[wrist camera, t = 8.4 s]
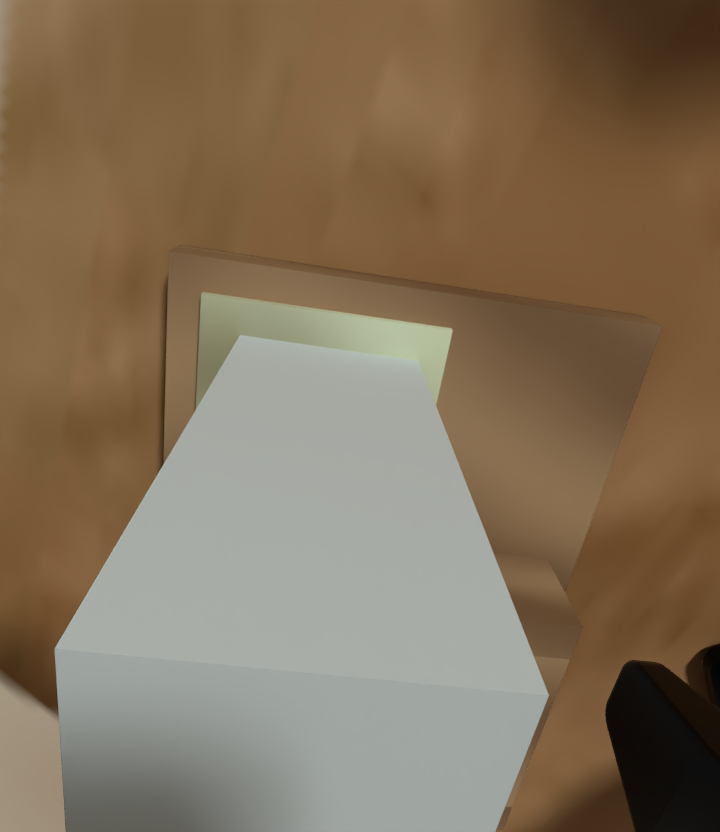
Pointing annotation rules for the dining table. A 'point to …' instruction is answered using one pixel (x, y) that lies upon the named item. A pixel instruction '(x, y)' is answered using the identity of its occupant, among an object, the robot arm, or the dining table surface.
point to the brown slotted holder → (449, 400)
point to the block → (299, 621)
